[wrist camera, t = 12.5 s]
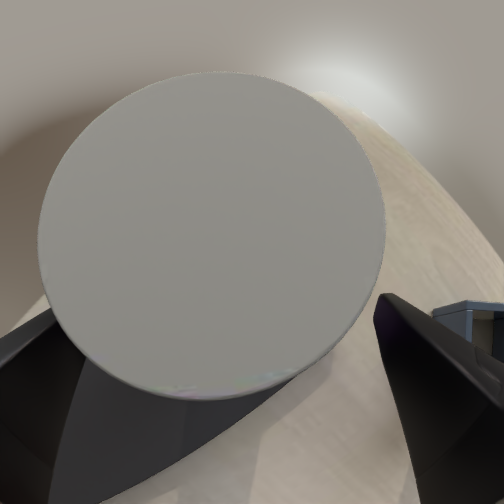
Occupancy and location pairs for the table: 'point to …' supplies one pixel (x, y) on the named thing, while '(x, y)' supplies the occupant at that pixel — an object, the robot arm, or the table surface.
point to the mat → (132, 435)
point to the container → (211, 236)
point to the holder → (462, 318)
